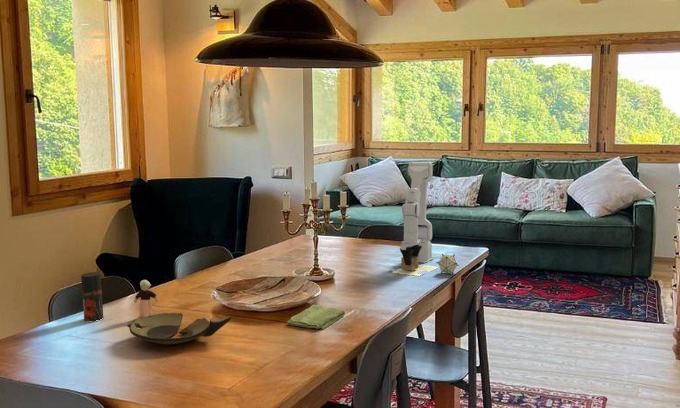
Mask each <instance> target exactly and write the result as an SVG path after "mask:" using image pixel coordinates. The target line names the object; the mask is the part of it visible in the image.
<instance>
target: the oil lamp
mask: <svg viewBox="0 0 680 408" xmlns="http://www.w3.org/2000/svg"><path fill="white" fill-rule="evenodd" d="M183 317H184V314H183V313H179V312H178V313H177V312H169V313H168V312H163V313H157V314H152V315H151V316H147V317H143V318H140V319H138V318H137V319H133V320H131V323H127V324H126V325H127V328H129V333H130V334H131V335H133V336H134V337H136V338H139V339H141V340H144V341H147V342H150V343H153V344H159V345H166V346H167V345H177V344H184V343H187V342H190V341H193V340H196V339H198V338H200V337H205V338H206V337H207V338H208V337H211V336H213V335H214V334H215V333H216V332H218V331H219V330H220V329H222V328H223V327H224V326H225V325H226V324H228V323H229V322H230V321H231V320H232V318H233V317H232V316H230V315H229V316H225V317H224V318H217V317H213V316H212V317H211V318H210V319H209V320H208V319H206V318H205V317H202V318H197V319H195V320H194V321H192V322H191V323H190V324H188V325H187V326H185V327H184V328H182V329H181V330H180V327H181V324H182V320H183ZM179 330H180V331H179ZM178 333H179V334H180V335H182V336H180V337H174V336H176V334H178Z"/></svg>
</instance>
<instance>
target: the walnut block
mask: <svg viewBox="0 0 680 408" xmlns="http://www.w3.org/2000/svg"><path fill="white" fill-rule="evenodd" d="M418 265H419V262H418V256H412V257H411V265H410V266H409V265H405V262H404V258H403V256H402V257H401V268H402V270H411V271H413V270H415V269H417V268H418Z"/></svg>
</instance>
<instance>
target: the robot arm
mask: <svg viewBox="0 0 680 408" xmlns="http://www.w3.org/2000/svg"><path fill="white" fill-rule="evenodd" d="M433 166H434V165H433V163H432V162H431V161H409V163H408V167H407V168H408V171H407V172H408V174H409V177H410V178H411V179H410V180H411V183H410V188H409V189H408V190H407V191H406V192H407V193H406V198H405V202H404V203H402V207H401V208H402V209H401V215H402V221H403V240H402V241H401V244H400V248H399V252H400V253H401V255H402V257H403V258H404V262H405V265H409V266H410V265H411V257H412V256H418V263H422V264H425V263H428V262H429V261H430V262H431V261H432V260H434V258H435V257H433V256H432V255H433V250H432V249H433V246H432V242H431V241H432V239H433V225H432V222H430V221H429V220H428V219H427V204H428V203H427V202H428V198H427V197H428V184H429V182H432V180H433V170H434V167H433Z"/></svg>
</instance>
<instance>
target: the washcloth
mask: <svg viewBox="0 0 680 408" xmlns="http://www.w3.org/2000/svg"><path fill="white" fill-rule="evenodd" d="M345 314H346V311H345V310H344V309H341V308H335V307H326V306H323V305H321V304H312V305H311V306H310V307H308V308H305V309H304V310H303V311H301V312H300V313H298V314H296V315H293V316H292V317H291V318H290V319H288V321H287V322H286V324H287V325H289V326H293V327H301V328H307V329H308V328H310V329H316V330H320V331H321V330H322V331H323V330H326V329H327V328H328V327H330V326H332V325H333V324H335V323H336V322H339V320H341V319H342V318H344V316H345Z"/></svg>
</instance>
